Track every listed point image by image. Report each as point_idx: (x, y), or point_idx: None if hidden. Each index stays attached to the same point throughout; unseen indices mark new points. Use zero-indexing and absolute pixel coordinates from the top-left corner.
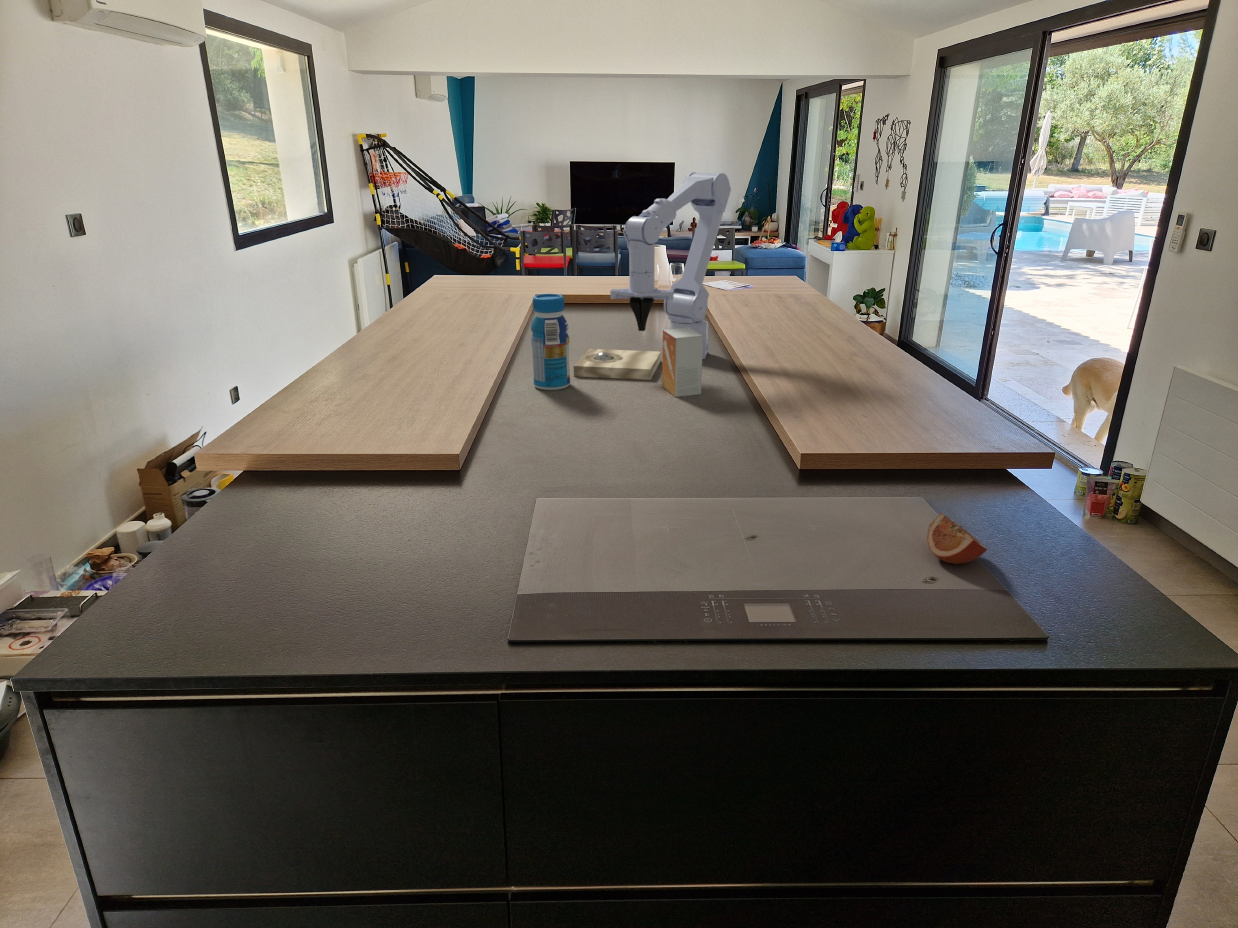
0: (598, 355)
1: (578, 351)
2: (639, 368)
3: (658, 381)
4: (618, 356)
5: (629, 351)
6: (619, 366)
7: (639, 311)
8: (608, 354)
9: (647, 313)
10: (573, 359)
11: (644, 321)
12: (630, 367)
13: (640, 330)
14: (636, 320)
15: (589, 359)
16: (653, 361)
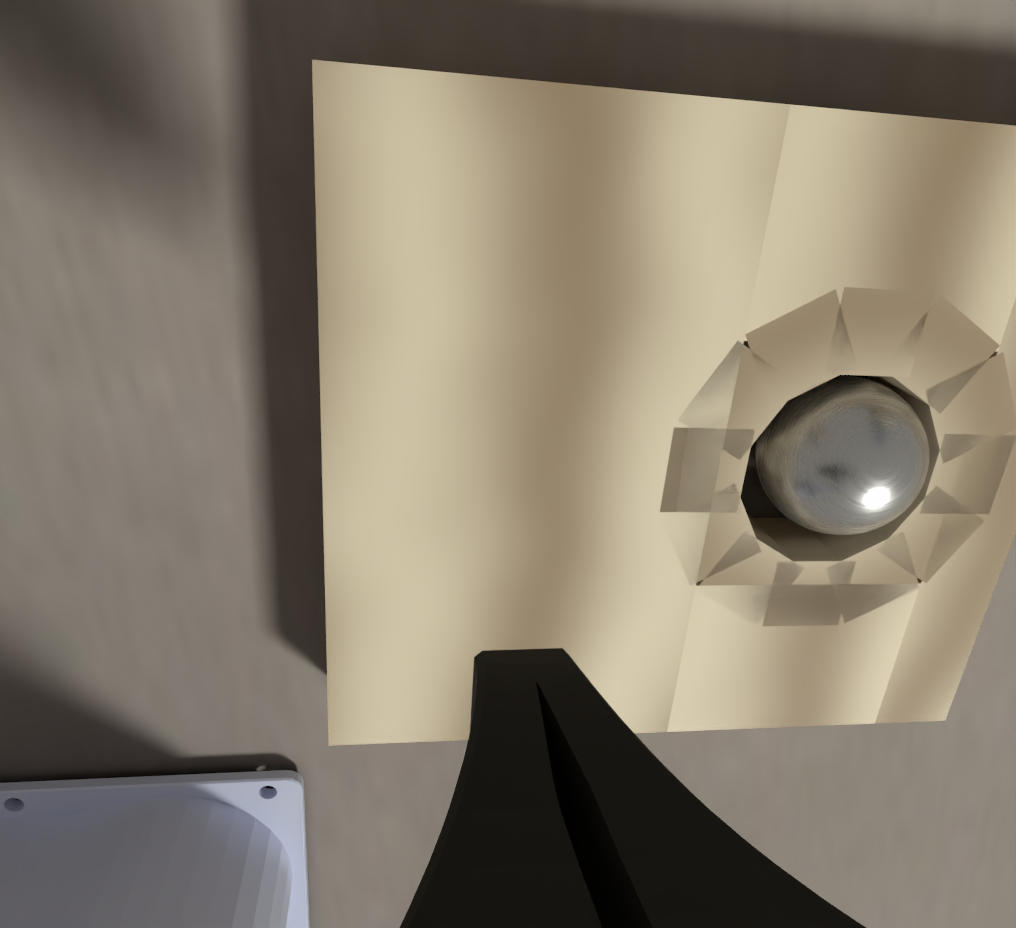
0: (918, 437)
1: (956, 807)
2: (453, 88)
3: (223, 21)
4: (707, 541)
5: (614, 703)
6: (690, 159)
7: (652, 908)
8: (822, 474)
9: (425, 891)
10: (1010, 631)
11: (486, 749)
12: (564, 129)
13: (538, 652)
14: (652, 754)
15: (979, 403)
16: (337, 410)
